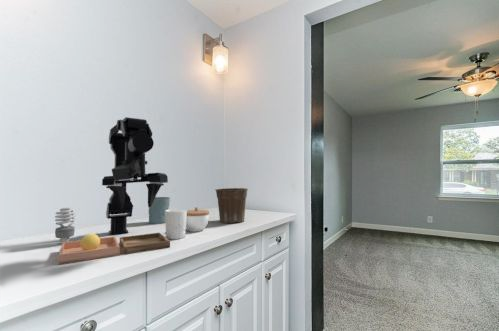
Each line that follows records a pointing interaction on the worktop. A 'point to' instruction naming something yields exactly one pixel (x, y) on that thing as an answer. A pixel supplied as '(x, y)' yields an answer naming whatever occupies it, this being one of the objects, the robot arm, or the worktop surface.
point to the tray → (143, 243)
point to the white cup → (175, 223)
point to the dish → (88, 251)
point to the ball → (90, 242)
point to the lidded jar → (197, 219)
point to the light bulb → (65, 231)
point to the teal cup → (158, 210)
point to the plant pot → (231, 204)
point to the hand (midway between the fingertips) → (135, 207)
